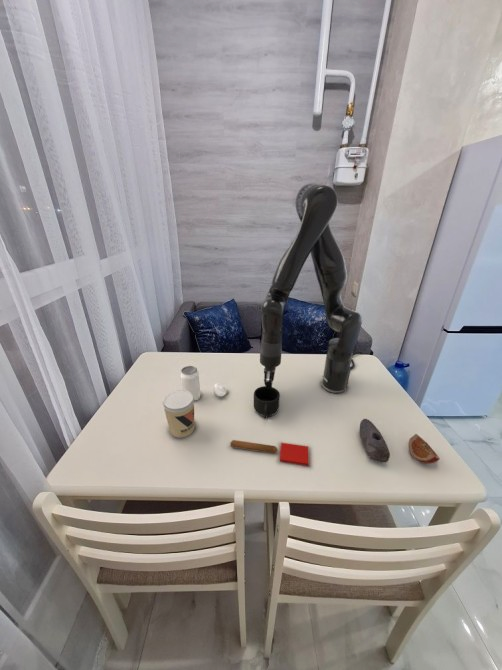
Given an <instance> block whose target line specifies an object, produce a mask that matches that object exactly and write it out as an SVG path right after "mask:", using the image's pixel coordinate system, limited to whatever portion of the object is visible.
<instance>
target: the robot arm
mask: <svg viewBox="0 0 502 670" xmlns="http://www.w3.org/2000/svg"><path fill="white" fill-rule="evenodd" d="M338 199H339V198H338V195H337V192H336V190H335V189H334V188H333V187H331V186H330V185H327V184H322V183H315V182H310V183H309V182H308V183H306V184H304V185H303V186H301V187H300V188H299V190H298V191H297V193H296V196H295V201H294V202H295V206H294V207H295V211H296V214H297V216H298V219H299V221H300V226H299V228H298V231H297V233H296V235H295V237H294V239H293V241H292V242H291V244H290V245H289V246H288V248H287V249H286V251H285V252H284V254H283V255H282V257H281V258H280V260H279V262H278V264H277V267H276V269H275V271H274V274H273V276H272V280H271V285H270V288H269V290H268V292H267V294H266V296H265V299H264V300H263V302H262V304H261V306H260V322H261V323H260V324H261V335H260V336H261V339H260V345H259V363H260V365H261V366H263V367H264V368H263V374H264V376H263V377H264V378H263V383H264V386H269V387H273V382H274V380H275V375H276V374H275V373H276V369H277V367H279V366H280V365H281V363H282V354H283V353H282V351H283V325H282V324H283V323H282V322H283V314H284V310H285V307H286V305H287V302H288V300H289V296H290V295H291V292H292V291H293V290H294V287H295V286H296V283H297V281H298V279H299V276H300V274H301V272H302V270H303V268H304V265H305V264H306V261H307V259H308V258H309V256H311V260H312V265H313V268H314V272H315V275H316V279H317V282H318V286H319V289H320V293H321V296H322V300H323V306H324V312H325V319H326V323H327V325H328V327H329V328H330V329H331V330H333V331H334V332H336V333H339V337H334V338H331V339H330V340H328V342H327V350H326V356H325V361H324V362H325V363H324V369H323V375H322V379H321V380H322V381H321V387H322V389H324V390H325V391H326V392H328V393H332V394H343V393H344V392H345V391H346V389H347V388H348V384H349V380H350V374H351V371H352V369H353V368H354V367H355V361H354V359H353V357H354V356H355V355H357V354H361V355H363V351H355V352H354V349H355V347H356V345H357V343H358V340H359V335H360V332H361V328H362V325H363V318H362V317H363V316H362V315H361V313H360V312H359V311H356V310H353V309H350V308H348V307H346V306H345V305H344V303H343V299H342V292H343V290H344V287H345V286H346V284H347V280H348V271H347V266H346V261H345V257H344V255H343V252H342V250H341V247H340V246H339V244H338V242H337V240H336V238H335V236H334V235H333V232H332V230H331V227H330V223H329V222H330V221H331V220H332V218H333V217H334V214H335V213H336V211H337V209H338V202H339V200H338Z"/></svg>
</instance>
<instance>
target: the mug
mask: <svg viewBox="0 0 502 670" xmlns="http://www.w3.org/2000/svg"><path fill="white" fill-rule="evenodd" d="M280 398H281V394H280V392H279V390H278V389H276V388H275V387H273V386H272V387H269V386H265V385H263V386H260V387H257V388H256V389H255V390H254V392H253V408H254V411H255V412H256V413H257V414H259V415H260V416H263V419H265V420H267V419H268V417H270V416H273V415H275V414H277V412H278V411H279V408H280V401H281V399H280Z"/></svg>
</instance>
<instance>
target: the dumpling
mask: <svg viewBox="0 0 502 670" xmlns="http://www.w3.org/2000/svg"><path fill="white" fill-rule="evenodd" d="M213 392H214V394H215V396H216V397H219V398H220V397H225V396H226V395H227V389H226V387H225V386H224V385H223V384H221V383H216V382H215V383H214V385H213Z"/></svg>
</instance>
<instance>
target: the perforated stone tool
mask: <svg viewBox="0 0 502 670" xmlns="http://www.w3.org/2000/svg"><path fill="white" fill-rule="evenodd" d="M359 435H360V439H361V441H362V444H363V447H364V449H365V452H366V454H367V456H368V457H369V459H370V460H372V461H375V462H379V463H381V464H382V463H385V464H386V463H388V462H389V460H390V456H391V453H390V449H389V447H388V444H387V442H386V440H385V438H384V436H383V435H382V433H381V432H380V430H379V429H378V428H377V426H376V425H375V423H373V422H372V421H371V420H370V419H368V418H363V419H362V420H361V421H360V423H359Z"/></svg>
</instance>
